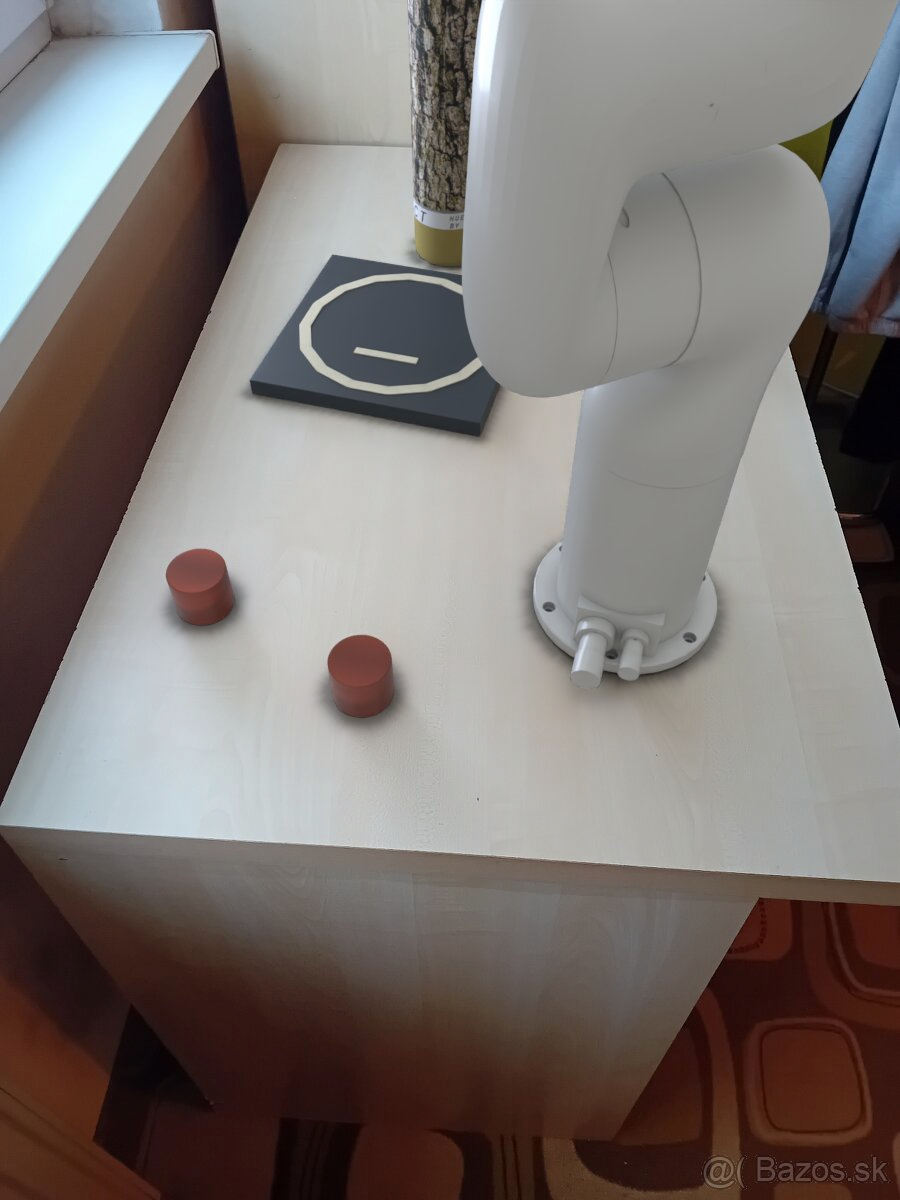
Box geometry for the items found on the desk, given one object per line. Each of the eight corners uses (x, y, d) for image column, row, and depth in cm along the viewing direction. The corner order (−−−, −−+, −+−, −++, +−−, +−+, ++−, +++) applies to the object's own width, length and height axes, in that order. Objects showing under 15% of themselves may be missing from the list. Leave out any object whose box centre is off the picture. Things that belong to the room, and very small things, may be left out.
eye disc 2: (382, 724, 61) (379, 693, 58) (323, 709, 62) (317, 678, 59) (402, 674, 64) (399, 642, 61) (344, 660, 64) (340, 628, 62)
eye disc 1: (220, 631, 66) (210, 598, 63) (166, 618, 66) (154, 585, 64) (244, 587, 68) (235, 554, 66) (192, 576, 69) (181, 542, 66)
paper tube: (485, 234, 98) (494, -51, 78) (480, 271, 94) (488, -20, 74) (419, 230, 98) (411, -54, 79) (410, 267, 94) (401, -23, 75)
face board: (480, 437, 78) (480, 422, 77) (251, 394, 82) (248, 378, 81) (534, 300, 90) (535, 285, 89) (333, 267, 94) (332, 252, 93)
